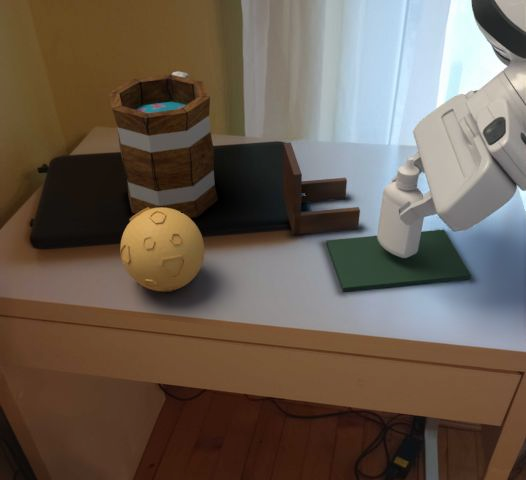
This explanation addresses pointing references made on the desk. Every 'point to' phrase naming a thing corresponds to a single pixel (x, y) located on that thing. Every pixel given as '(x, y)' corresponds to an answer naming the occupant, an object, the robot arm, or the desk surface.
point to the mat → (395, 262)
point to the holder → (314, 192)
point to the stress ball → (162, 249)
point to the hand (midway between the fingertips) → (398, 203)
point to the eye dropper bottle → (390, 225)
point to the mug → (166, 143)
